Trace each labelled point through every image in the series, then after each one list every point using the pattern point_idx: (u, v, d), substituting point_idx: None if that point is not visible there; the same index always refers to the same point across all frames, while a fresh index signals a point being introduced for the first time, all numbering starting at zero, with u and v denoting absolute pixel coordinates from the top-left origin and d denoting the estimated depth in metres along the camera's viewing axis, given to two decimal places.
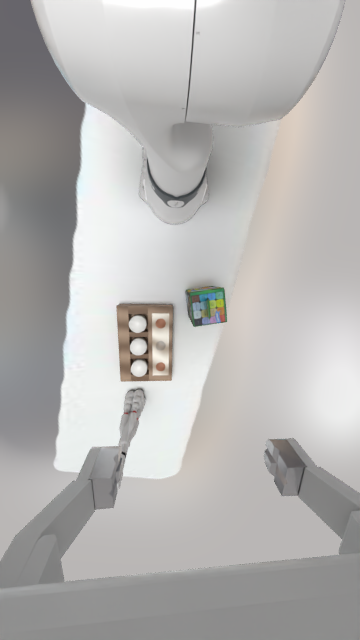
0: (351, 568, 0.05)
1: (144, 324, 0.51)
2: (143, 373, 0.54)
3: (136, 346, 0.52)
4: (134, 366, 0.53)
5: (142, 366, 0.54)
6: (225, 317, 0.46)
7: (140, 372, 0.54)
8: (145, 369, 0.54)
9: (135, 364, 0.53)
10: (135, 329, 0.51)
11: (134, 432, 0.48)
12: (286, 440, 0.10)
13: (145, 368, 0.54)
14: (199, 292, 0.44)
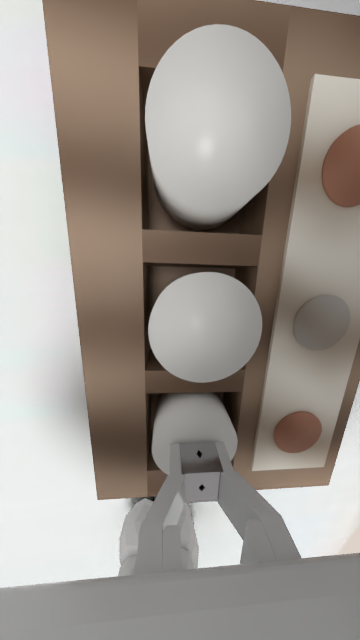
0: (351, 568, 0.05)
1: (278, 127, 0.06)
2: None
3: (195, 321, 0.07)
4: (173, 432, 0.10)
5: (216, 431, 0.10)
6: None
7: None
8: (230, 445, 0.10)
9: (179, 422, 0.09)
10: (196, 177, 0.06)
11: None
12: (214, 444, 0.09)
13: (231, 441, 0.10)
14: None
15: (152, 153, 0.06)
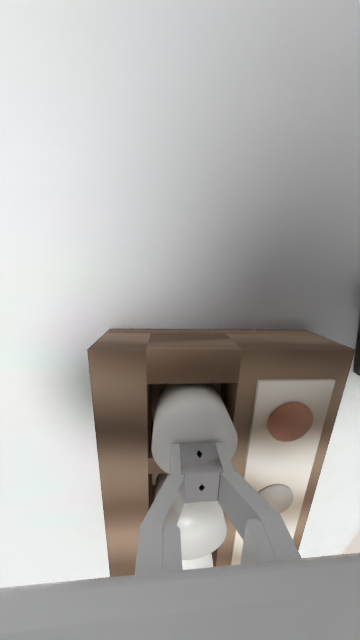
0: (351, 568, 0.05)
1: (230, 443, 0.10)
2: None
3: (183, 531, 0.11)
4: None
5: (198, 560, 0.14)
6: None
7: None
8: (208, 566, 0.15)
9: None
10: None
11: None
12: (213, 444, 0.09)
13: (208, 564, 0.15)
14: None
15: (155, 461, 0.10)
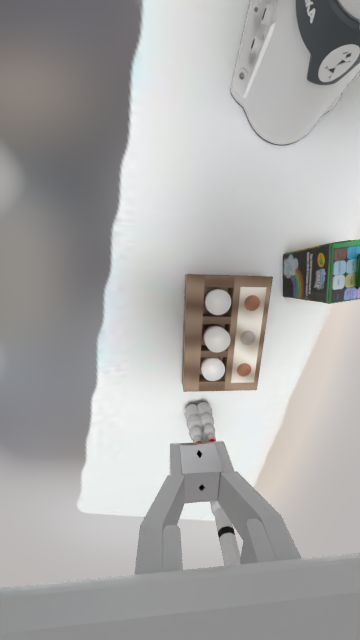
0: (351, 568, 0.05)
1: (229, 302, 0.34)
2: (219, 376, 0.37)
3: (215, 338, 0.33)
4: (207, 365, 0.36)
5: (219, 365, 0.36)
6: None
7: (215, 375, 0.37)
8: (223, 370, 0.37)
9: (209, 363, 0.36)
10: (214, 310, 0.34)
11: None
12: (214, 444, 0.09)
13: (223, 368, 0.37)
14: (347, 243, 0.26)
15: (207, 307, 0.33)
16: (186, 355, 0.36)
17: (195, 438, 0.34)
